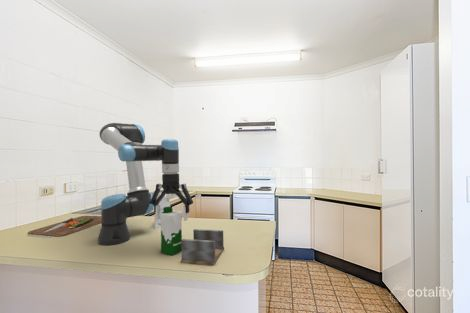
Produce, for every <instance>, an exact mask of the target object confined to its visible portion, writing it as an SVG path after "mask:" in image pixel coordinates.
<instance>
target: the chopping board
mask: <svg viewBox="0 0 470 313" xmlns="http://www.w3.org/2000/svg"><path fill="white" fill-rule="evenodd" d="M100 224H102V221H101V215H80V216H78V217H74V218H72V217H70V218H69V219H67V220H64V221H60V222H58V223H54V224H49V225H47V226H42V227H39V228H35V229H32V230H30V231H28V232H27V235H26V236H27V237H34V238H45V239H46V238H47V239H51V238H52V237H56V238H60V237H66V236H69V235H71V234H75V233H77V232H80V231H83V230H86V229H89V228H92V227H94V226H95V227H96V226H97V225H100Z"/></svg>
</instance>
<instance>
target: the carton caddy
mask: <svg viewBox="0 0 470 313" xmlns="http://www.w3.org/2000/svg"><path fill="white" fill-rule="evenodd" d="M192 230H193V234H192V235H193V239H189V238H182V240H181V245H182V251H181V260H180V264H191V265H200V266H201V265H203V266H212V265H213V266H215V264H216V263H217V262H218V260H219V258H220V256H222V253H224V252H223V251H224V250H225V247H224V244H225V243H224V230H219V229H217V230H215V229H201V228H200V229H198V228H196V229H194V228H193V229H192ZM213 266H212V267H213Z"/></svg>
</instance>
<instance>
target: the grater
mask: <svg viewBox="0 0 470 313" xmlns="http://www.w3.org/2000/svg"><path fill="white" fill-rule="evenodd" d="M161 193H162V192H161ZM161 193H160V192H159V194H158V197H159V196H160V195H161ZM158 205H160V213H161V212H164V211H163V208H164V207H171V204H170V200H169V199H168V198H167V194H166V195H165V196H164V197H163V199H162V200H161V201H160V203H159V204H158ZM153 225H154V226H155V227H154V226H153V227H154V230H158V229H159V228H161V221H160V219H159V220H156V212H154V223H153ZM159 230H160V229H159Z"/></svg>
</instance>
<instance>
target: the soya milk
mask: <svg viewBox="0 0 470 313" xmlns="http://www.w3.org/2000/svg"><path fill="white" fill-rule="evenodd" d="M163 211H164V212H161V213H159V216H160V221H161V224H160V225H161V229H160V253H162V254H165V255H169V256H174V255H176V254H178V253H180V252H182V245H181V240H182V239H183V235H182V229H183V228H182V223H183V222H182V220H183V217H184V211H181V210H174V209H173V206H170V207H164V208H163Z"/></svg>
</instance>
